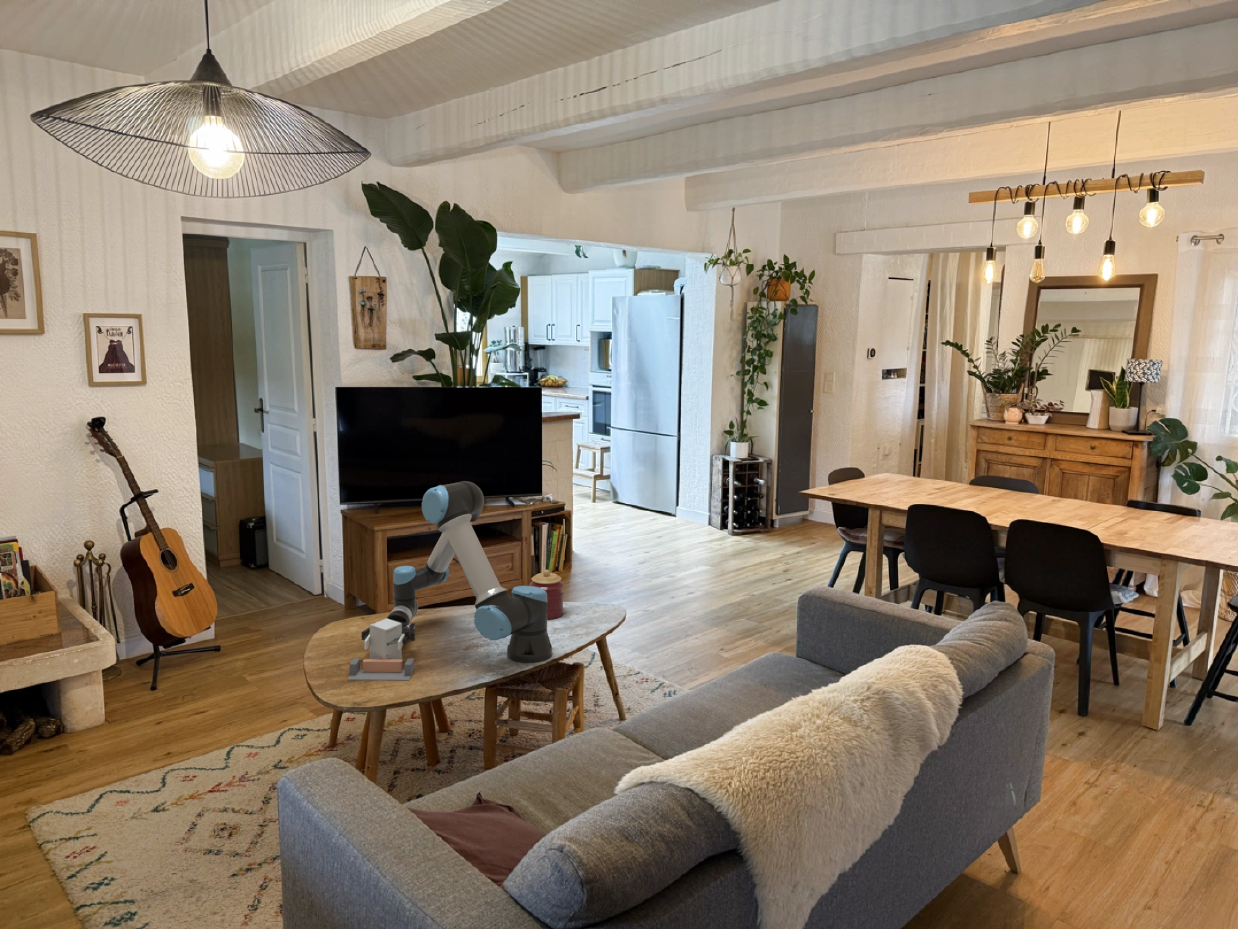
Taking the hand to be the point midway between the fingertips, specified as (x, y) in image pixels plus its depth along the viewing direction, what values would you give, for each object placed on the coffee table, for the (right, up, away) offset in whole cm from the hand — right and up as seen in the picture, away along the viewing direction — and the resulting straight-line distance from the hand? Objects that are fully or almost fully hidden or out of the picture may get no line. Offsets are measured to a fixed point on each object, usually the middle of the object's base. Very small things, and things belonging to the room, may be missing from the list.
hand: (382, 645), depth 266 cm
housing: (0, -9, -2) cm, 9 cm away
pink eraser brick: (0, -8, +1) cm, 8 cm away
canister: (+47, 0, +56) cm, 73 cm away
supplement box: (0, -6, +6) cm, 9 cm away
